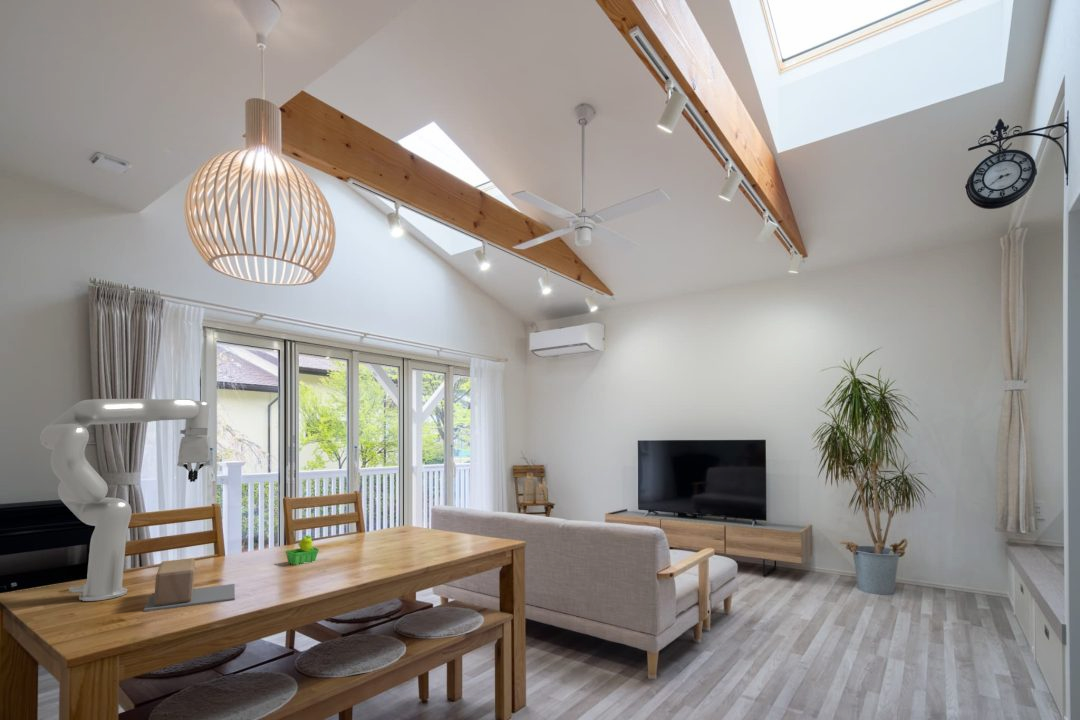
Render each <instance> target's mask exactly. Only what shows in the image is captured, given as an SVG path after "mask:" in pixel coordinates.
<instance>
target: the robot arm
mask: <svg viewBox="0 0 1080 720" xmlns="http://www.w3.org/2000/svg"><path fill="white" fill-rule="evenodd" d="M209 414H210V404H209V402H208V401H204V400H194V399H190V398H179V399H178V398H177V399H175V398H173V399H170V398H167V399H165V398H163V399H159V398H158V399H156V398H155V399H154V398H97V399H95V398H94V399H85V400H80V401H79V402H77V403H75V404H73V406H71V407H70V408H69V409H67V410H65V412H63V413H62V414H61V415H60V416H58V417H57V418H56V419H54V420H53V421H52V422H50V423H49V424H48V425H47V426H45V427H44V428H43V430H42V431H41V433H40V436H39V440H40V443H41V445H42V446H43V447H44V448H46V449H47V450H51V451H52V453H51V457H50V467H51V469H52V472H53V474H54V475H55V476H56V477H57V478H58V480H59V481H60V482H59V483H58V486H57V494H58V495H57V496H58V497H59V499H60V500H61V501H62V503H63V505H65V507H67V509H69V510H70V512H72V513H73V515H75V517H76V518H77V519H78V520H80V521H81V522H82V523H84V524H85V525H88V526H92V527H93V526H94V530H93V531H92V534H91V537H90V543H89V553H88V564H87V574H86V577H87V578H86V582H85V583H84V584H81V585H75V586H69V589H68V594H78V593H81V594H79V595H78V599H79V601H81V600H82V602H95V601H104V600H110V599H114V598H119V597H122V596H125V595H126V594H127V593H128V588H126V587H123V578H124V566H125V557H126V556H125V555H126V554H125V553H126V544H127V535H128V530H129V524H130V521H131V519H132V514H133V513H132V507H131V504H130V503H129V502H128V501H126V500H125V499H122V498H118V497H111V496H110V497H106V496H107V494H108V490H109V488H108V483H107V482H106V480H104V479H103V477H102V476H101V475H100V474H99V473H98V472H97V471H96V470H95V469H94V467H93V466H92V465H91V464H90V462H89V461H88V460H87V459H86V455H85V449H86V447H87V444H88V442H89V439H90V438H89V437H90V434H89V431H88V429H87V428H88V427H89V426H90V425H114V424H115V425H116V424H136V423H137V424H138V423H139V424H140V423H151V422H159V421H160V422H161V421H174V420H175V421H177V420H178V421H179V420H181V421H182V420H185V422H184V423H185V424H184V425H185V426H184V429H181V430H180V432H179V433H180V434H181V435H184V436H182V437H181V438H180V444H179V449H178V457H177V458H178V459H177V460H178V461H177V467H181V468H185V470H187V471H188V473H187V474H188V475H187V479H188V480H189V482H190V483H192V482H193V483H194V482H196V480H198V475H199V474H198V473H199V470H200V469H202V468H203V467H207V466H210V465H211V462H210V457H211V440H210V436H208V432H209V431H208V429H209V418H210V417H209V416H210V415H209ZM192 464H196V465H195V468H194V469H193V468H192V467H193V466H192Z"/></svg>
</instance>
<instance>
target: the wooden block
mask: <svg viewBox="0 0 1080 720" xmlns="http://www.w3.org/2000/svg"><path fill="white" fill-rule="evenodd" d="M195 565H196V560H195V558H181V559H173V560H164V561H161V562H160V564H159V566H158V569H157V573H156V575H155V584H154V585H155V586H154V593H155V595H154V605H155V606H162V605H170V604H177V603H185V602H189V601H191V600H192V595H193V589H194V583H195V581H194V579H195V569H196V568H195V567H196V566H195Z"/></svg>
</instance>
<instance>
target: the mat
mask: <svg viewBox="0 0 1080 720" xmlns="http://www.w3.org/2000/svg"><path fill="white" fill-rule="evenodd" d="M235 592H236V591H235V583H232V584H231V583H230V584H224V585H213V586H205V587H197V588H196V587H195V588H193V595H192V600H191V601H189V602H185V603H177V604H170V605H162V606H155V605H154V595H155V592H154V593H153V592H152V593H151V595H150V597H149V599H148V601H147V603H146V605H145V607H144V608H143V612H144V611H145V612H151V611H150V610H153V611H160V610H159V609H161V610H169V609H176V608H184V607H190V606H199V605H205V604H206V605H207V603H208V604H215V603H222V602H230V601H235V600H236V599H235V594H236V593H235Z"/></svg>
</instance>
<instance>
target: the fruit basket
mask: <svg viewBox="0 0 1080 720" xmlns="http://www.w3.org/2000/svg"><path fill="white" fill-rule="evenodd" d="M313 545H314V543H313V541H312V536H311V535H308V534H307V535H305V536H304V537H302V539H301V540H300V541H299V542H298V547H299V548H296V549H290V550H285V554H286V558H287V562H288V564H289V563H291V564H290V565H292V564H294V565H293V566H296V565H295V564H299V563H304V562H310V561H315V562H316V559H317V557H318V553H319V551H320V549H319V548H316V547H313ZM310 563H311V562H310ZM304 564H305V563H304ZM299 565H300V564H299Z"/></svg>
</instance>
